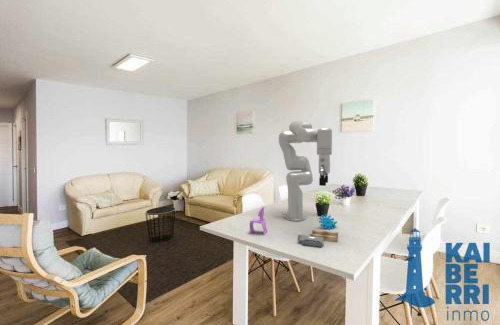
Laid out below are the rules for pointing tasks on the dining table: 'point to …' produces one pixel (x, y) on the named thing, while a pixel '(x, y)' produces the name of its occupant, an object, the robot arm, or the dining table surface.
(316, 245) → the cradle
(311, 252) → the dining table surface
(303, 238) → the axle
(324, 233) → the beam
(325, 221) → the gear
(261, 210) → the toy chair
